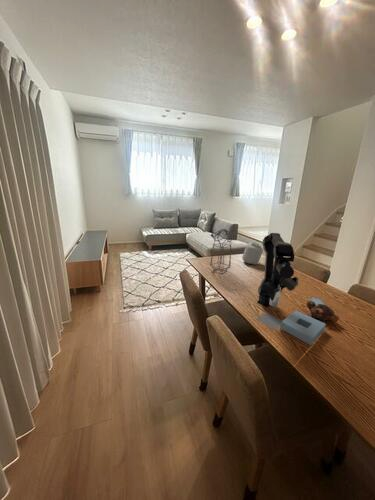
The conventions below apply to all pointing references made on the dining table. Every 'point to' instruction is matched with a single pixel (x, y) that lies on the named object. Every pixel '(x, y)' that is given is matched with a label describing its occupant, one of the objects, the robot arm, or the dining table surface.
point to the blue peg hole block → (303, 327)
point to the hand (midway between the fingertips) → (274, 298)
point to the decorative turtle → (321, 312)
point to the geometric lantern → (222, 248)
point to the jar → (252, 253)
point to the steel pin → (276, 299)
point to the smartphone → (317, 301)
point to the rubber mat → (270, 320)
